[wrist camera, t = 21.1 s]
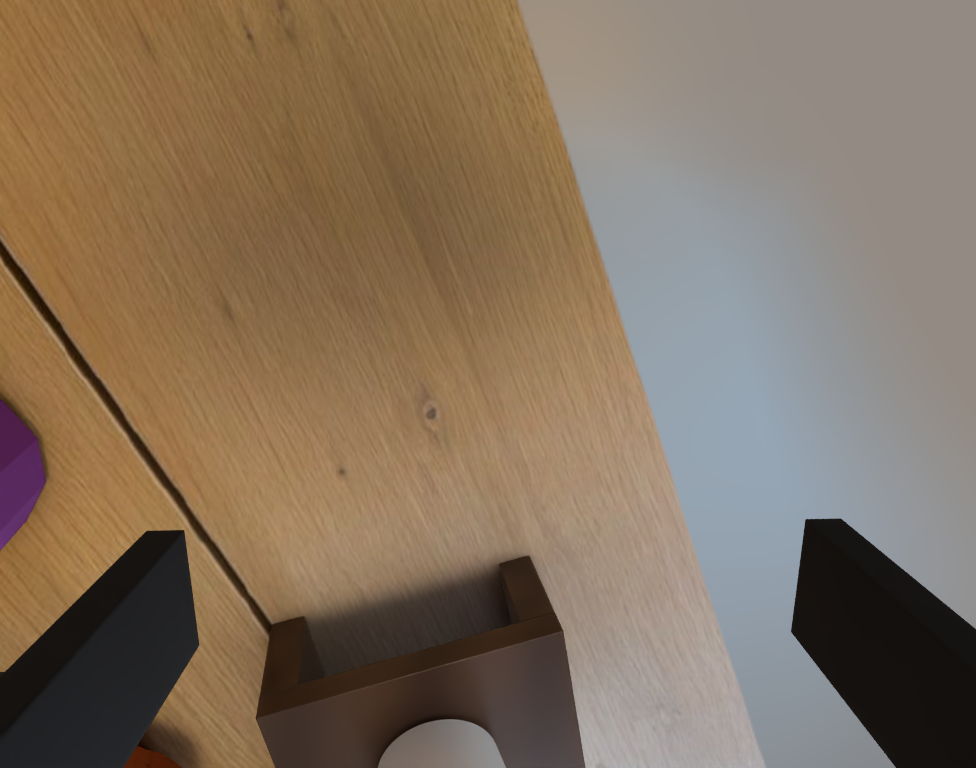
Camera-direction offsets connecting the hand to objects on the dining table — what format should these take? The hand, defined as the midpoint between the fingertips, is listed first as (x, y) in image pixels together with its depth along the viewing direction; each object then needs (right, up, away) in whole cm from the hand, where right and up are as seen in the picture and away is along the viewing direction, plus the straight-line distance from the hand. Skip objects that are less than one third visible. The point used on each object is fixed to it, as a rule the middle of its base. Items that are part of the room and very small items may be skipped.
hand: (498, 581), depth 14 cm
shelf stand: (-4, -14, +28) cm, 32 cm away
